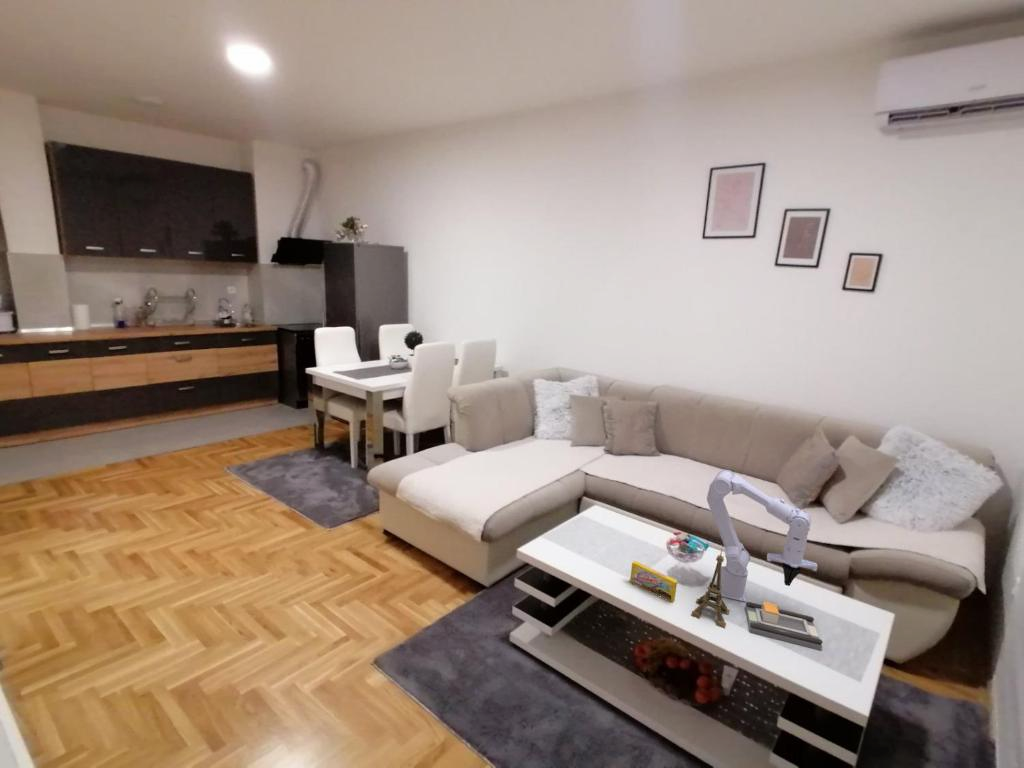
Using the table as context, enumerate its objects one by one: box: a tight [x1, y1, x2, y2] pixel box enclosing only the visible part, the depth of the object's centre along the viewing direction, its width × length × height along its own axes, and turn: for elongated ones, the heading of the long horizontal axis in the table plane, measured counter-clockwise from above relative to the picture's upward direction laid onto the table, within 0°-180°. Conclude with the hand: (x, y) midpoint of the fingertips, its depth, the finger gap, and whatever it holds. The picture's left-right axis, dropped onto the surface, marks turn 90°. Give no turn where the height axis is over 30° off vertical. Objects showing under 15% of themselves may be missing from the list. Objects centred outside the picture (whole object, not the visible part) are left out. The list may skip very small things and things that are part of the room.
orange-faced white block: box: [761, 600, 779, 625], centre depth 164 cm, size 4×5×4 cm
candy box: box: [629, 560, 678, 603], centre depth 177 cm, size 16×2×8 cm, turn 49°
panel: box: [744, 601, 824, 651], centre depth 164 cm, size 20×13×3 cm, turn 72°
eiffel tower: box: [690, 549, 731, 630], centre depth 166 cm, size 11×11×25 cm
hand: (786, 583), depth 170 cm, fingers closed
